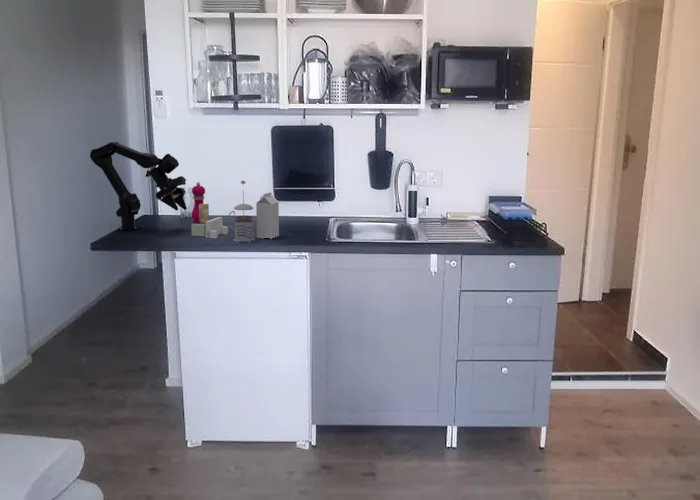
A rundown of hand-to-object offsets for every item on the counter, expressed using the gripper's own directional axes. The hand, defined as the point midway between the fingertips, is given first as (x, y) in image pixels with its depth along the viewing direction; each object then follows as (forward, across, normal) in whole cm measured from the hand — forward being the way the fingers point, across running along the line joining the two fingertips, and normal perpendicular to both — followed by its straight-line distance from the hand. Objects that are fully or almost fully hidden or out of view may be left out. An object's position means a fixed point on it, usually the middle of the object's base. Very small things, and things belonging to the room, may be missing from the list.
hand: (181, 209), depth 276 cm
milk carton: (+31, +1, -25) cm, 40 cm away
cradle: (+14, +1, -2) cm, 15 cm away
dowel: (+14, +1, -2) cm, 14 cm away
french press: (+27, -7, -17) cm, 32 cm away
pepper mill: (+6, +24, +5) cm, 25 cm away
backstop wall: (+18, 0, -7) cm, 19 cm away
